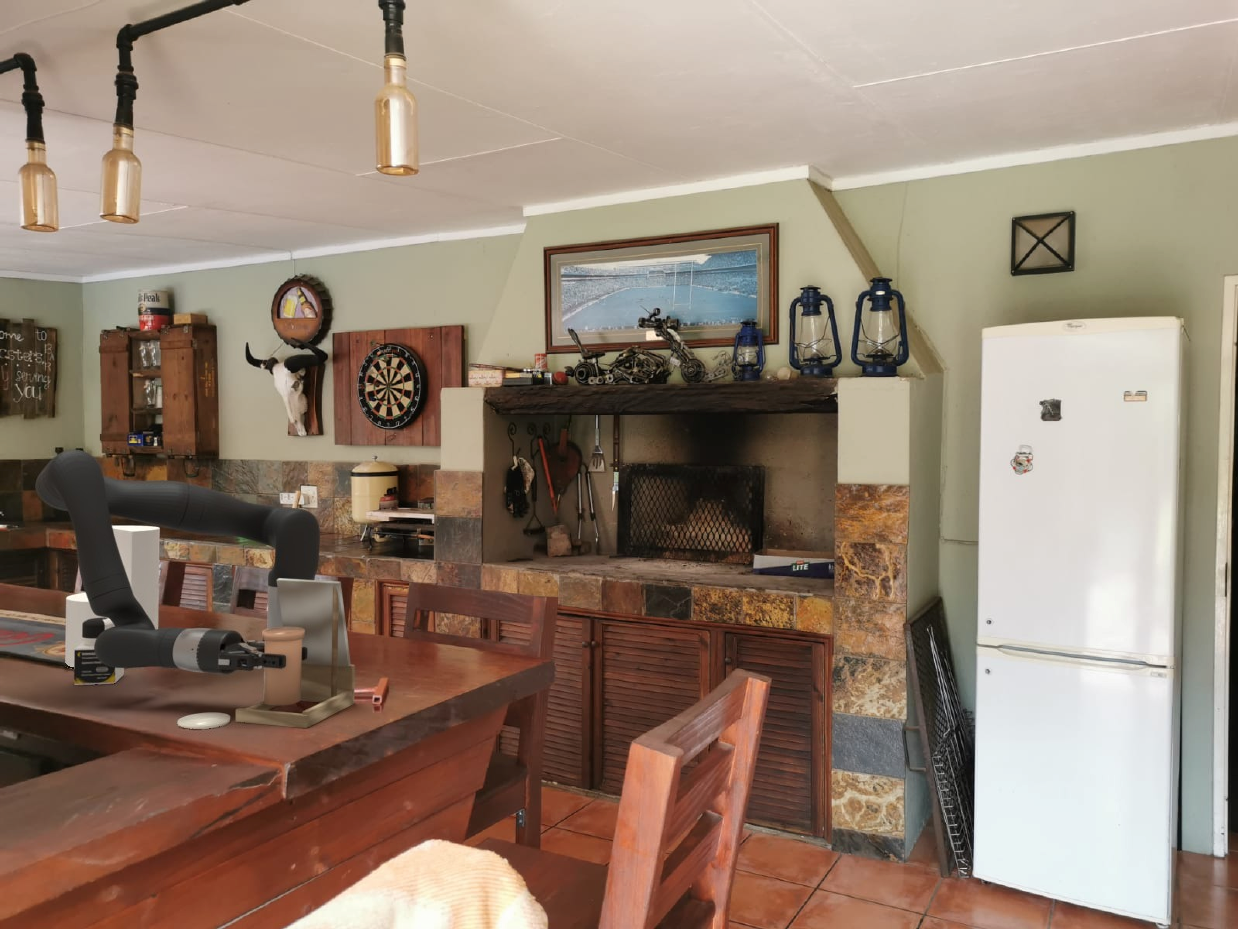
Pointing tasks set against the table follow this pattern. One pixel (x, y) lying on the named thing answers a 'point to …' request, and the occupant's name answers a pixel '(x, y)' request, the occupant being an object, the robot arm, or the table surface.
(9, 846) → the table surface
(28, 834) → the table surface
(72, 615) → the rounded stepped block
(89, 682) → the medicine bottle
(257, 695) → the table surface
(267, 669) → the clay pot
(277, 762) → the table surface
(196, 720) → the saucer
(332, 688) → the cold frame
